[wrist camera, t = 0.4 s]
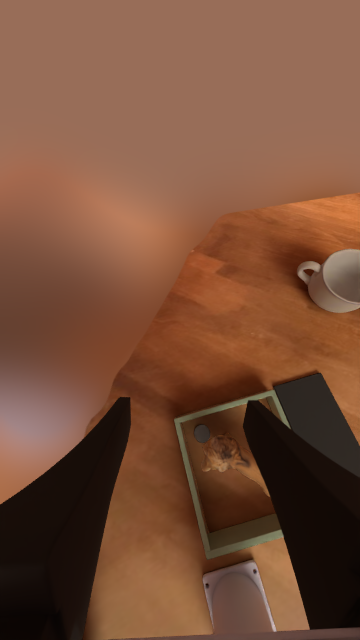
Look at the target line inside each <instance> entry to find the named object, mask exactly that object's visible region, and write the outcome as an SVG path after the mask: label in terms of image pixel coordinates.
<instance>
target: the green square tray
mask: <svg viewBox="0 0 360 640" xmlns="http://www.w3.org/2000/svg"><path fill="white" fill-rule="evenodd" d="M265 397H266V399H267V401H268V403H269V406H270V408H271V411H272V413H273V414H274V415H275V416H276V417H277V418H279V419H280V420H281V421H282V422H283V423H284V424H285V425H287V426H288V427H289V428H290V426H289V423H288V421H287V419H286V416H285V414H284V412H283V409H282V407H281V405H280V402H279V400H278V398H277V395H276V393H275V391H274V390H264V391H261V392H257V393H254V394H251V395H247V396H244V397H241V398H237V399H234V400H230V401H227V402H224V403H220V404H217V405H214V406H210V407H207V408H203V409H200V410H197V411H193V412H190V413H187V414H183V415H180V416H176V418H175V419H174V422H175V427H176V431H177V435H178V439H179V444H180V448H181V452H182V456H183V461H184V465H185V469H186V473H187V478H188V482H189V486H190V491H191V495H192V499H193V503H194V508H195V512H196V516H197V520H198V525H199V529H200V533H201V537H202V542H203V546H204V550H205V555H206V559H207V560H209V559H212V558H215V557H219V556H222V555H225V554H228V553H232V552H235V551H238V550H242V549H245V548H248V547H252V546H255V545H258V544H262V543H265V542H268V541H272V540H275V539H278V538H282V537H283V533H282V530H281V527H280V524H279V521H278V518H277V515H276V513H275V514H271V515H268V516H265V517H261V518H258V519H255V520H251V521H248V522H245V523H241V524H238V525H235V526H231V527H228V528H225V529H221V530H218V531H215V532H211V533H209V530H208V526H207V522H206V518H205V514H204V510H203V506H202V502H201V497H200V493H199V489H198V485H197V481H196V477H195V473H194V469H193V465H192V461H191V457H190V453H189V449H188V445H187V441H186V437H185V433H184V429H183V425H182V422H185V421H188V420H191V419H195V418H198V417H201V416H205V415H208V414H212V413H215V412H218V411H222V410H225V409H228V408H232V407H235V406H238V405H242V404H245V403H248V400H259V399H262V398H265ZM290 429H291V428H290ZM194 436H195V438H196V440H197V441H198V442H200V443H205V442H207V441H208V440H209V438H210V431H209V429H208V427H207V426H205V425H198V426H197V427H196V428H195V431H194Z"/></svg>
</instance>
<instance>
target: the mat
mask: <svg viewBox="0 0 360 640" xmlns="http://www.w3.org/2000/svg"><path fill="white" fill-rule="evenodd" d="M273 387H274V390H275V392H276V394H277V397H278V399H279V401H280V404H281V406H282V408H283V411H284V413H285V415H286V418H287V420H288V422H289V425H290V427H291V429H292V430H293V431H294V432H295V433H296V434H297V435H299V436H300V437H301V438H302V439H304V440H305V441H306V442H307V443H309V444H310V445H311V446H313V447H314V448H316V449H317V450H318V451H320V452H321V453H323V454H324V455H325V456H327V457H328V458H330V459H331V460H333V461H334V462H336V463H337V464H339V465H340V466H342V467H343V468H345V469H347V470H348V471H350V472H351V473H353V474H355V475H356V476H358V477H360V446H359V444H358V442H357V440H356V438H355V436H354V434H353V433H352V431H351V429H350V427H349V425H348V423H347V421H346V419H345V417H344V416H343V414H342V412H341V410H340V408H339V406H338V404H337V402H336V401H335V399H334V397H333V395H332V393H331V391H330V389H329V387H328V385H327V384H326V382H325V380H324V378H323V376H322V374H321V373H317V374H314V375H311V376H307V377H304V378H300V379H297V380H294V381H290V382H287V383H284V384H280V385H277V386H273Z"/></svg>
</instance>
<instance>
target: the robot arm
mask: <svg viewBox="0 0 360 640" xmlns="http://www.w3.org/2000/svg"><path fill="white" fill-rule="evenodd" d="M130 426H131V410H130V397H120V398H118V400H117V401H116V402H115V403H114V405H113V406H112V407H111V409H110V410H109V411H108V412H107V413H106V415H105V416H104V417H103V418H102V419H101V420H100V422H99V423H98V424H97V425H96V426H95V427H94V428H93V429H92V430H91V431H90V432H89V433H88V435H87V436H86V437H85V438H84V439H83V440H82V441H81V442H80V443H79V444H78V445H77V446H76V447H74V448H73V449H72V450H71V451H70V452H69V453H68V454H67V455H66V456H65V457H63V458H62V459H61V460H60V461H59V462H57V463H56V464H55V465H54V466H53V467H51V468H50V469H49V470H48V471H47V472H45V473H44V474H43V475H41V476H40V477H39V478H37V479H36V480H35V481H33V482H32V483H31V484H29V485H28V486H27V487H25V488H24V489H23V490H21V491H20V492H18V493H17V494H15V495H14V496H12V497H11V498H9V499H8V500H6V501H5V502H3V503H2V504H0V640H82V639H83V634H84V628H85V623H86V618H87V612H88V607H89V602H90V597H91V592H92V586H93V581H94V576H95V572H96V567H97V562H98V557H99V552H100V547H101V542H102V537H103V533H104V528H105V523H106V519H107V514H108V510H109V505H110V501H111V496H112V493H113V489H114V485H115V482H116V479H117V476H118V472H119V469H120V466H121V462H122V459H123V456H124V452H125V449H126V446H127V442H128V437H129V432H130ZM243 429H244V432H245V436H246V439H247V442H248V445H249V447H250V450H251V452H252V454H253V457H254V459H255V461H256V464H257V466H258V468H259V471H260V473H261V475H262V478H263V480H264V482H265V485H266V487H267V490H268V492H269V495H270V497H271V500H272V503H273V506H274V509H275V512H276V515H277V518H278V521H279V524H280V527H281V530H282V533H283V537H284V540H285V543H286V546H287V549H288V553H289V556H290V559H291V563H292V566H293V570H294V573H295V576H296V580H297V583H298V587H299V591H300V594H301V598H302V601H303V605H304V609H305V612H306V616H307V620H308V624H309V627H310V630H296V631H276V628H275V625H274V621H273V618H272V615H271V611H270V608H269V605H268V601H267V598H266V595H265V592H264V588H263V585H262V582H261V578H260V575H259V572H258V568H257V565H256V562H255V561H254V560H249V561H246V562H243V563H239V564H236V565H233V566H229V567H226V568H223V569H219V570H216V571H213V572H209V573H206V574H204V575H203V585H204V589H205V594H206V598H207V603H208V607H209V612H210V616H211V621H212V625H213V630H214V634H213V635H192V636H172V637H151V638H130V639H110V640H360V477H358V476H356V475H355V474H353V473H351V472H350V471H348V470H347V469H345V468H343V467H342V466H340V465H339V464H337V463H336V462H334V461H333V460H331V459H330V458H328V457H327V456H325V455H324V454H323V453H321V452H320V451H318V450H317V449H316V448H314V447H313V446H311V445H310V444H309V443H307V442H306V441H305V440H304V439H302V438H301V437H300V436H299V435H297V434H296V433H295V432H294V431H293V430H291V429H290V428H289V427H288V426H287V425H285V424H284V423H283V422H282V421H281V420H280V419H279V418H277V417H276V416H275V415H274V414H273V413H272V412H271V411H270V410H268V409H267V408H266V407H265V406H264V405H263V404H262V403H260V402H259V401H258V400H248V403H247V408H246V413H245V418H244V423H243ZM253 569H256V571H255V572H254V571H253ZM206 583H208V584H209V585H208V586H207V585H206Z"/></svg>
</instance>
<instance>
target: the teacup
mask: <svg viewBox="0 0 360 640" xmlns="http://www.w3.org/2000/svg"><path fill="white" fill-rule="evenodd" d="M304 269H312V270H314V271H315V272H314V273H313V274H312V276H309V275H307V274H306V273H305V272H304V271H303V270H304ZM297 275H298V276H299V277H300V278H301V279H302V280H303V281H305V284H307V285H308V291H309V295H310V297H311V299H312V300H313V301H314V302H315V303H316V304H317V305H318V306H319V307H321V308H323V309H325V310H327V311H330V312H336V313H342V312H349V311H353V310H356V309H358V308H360V250H356V249H344V250H340V251H337V252H335V253H333V254H331V255H330V256H329V257H328V258H327V259H326V261H325V262H324V263H323V264H322V265H320V264H318V263H317V262H314V261H306V262H303V263H302V264H300V265H299V267H298V269H297Z"/></svg>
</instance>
